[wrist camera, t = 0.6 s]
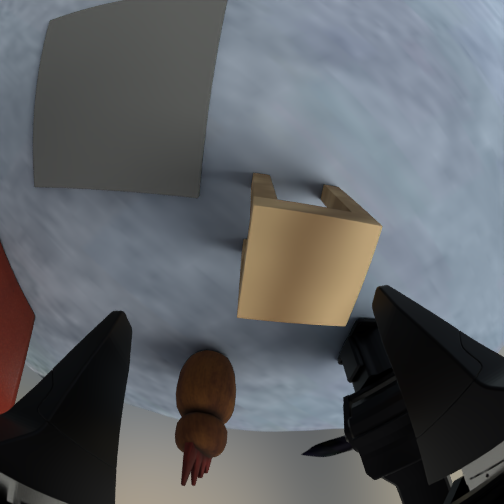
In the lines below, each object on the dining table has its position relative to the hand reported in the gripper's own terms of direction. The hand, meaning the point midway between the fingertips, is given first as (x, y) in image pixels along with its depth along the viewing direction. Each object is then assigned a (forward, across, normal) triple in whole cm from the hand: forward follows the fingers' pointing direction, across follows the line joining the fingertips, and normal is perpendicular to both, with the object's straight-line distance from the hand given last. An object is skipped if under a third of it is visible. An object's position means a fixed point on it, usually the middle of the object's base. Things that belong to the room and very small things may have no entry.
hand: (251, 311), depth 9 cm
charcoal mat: (+14, +9, -9) cm, 19 cm away
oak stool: (+12, -4, +3) cm, 13 cm away
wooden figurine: (+12, +5, +18) cm, 22 cm away
